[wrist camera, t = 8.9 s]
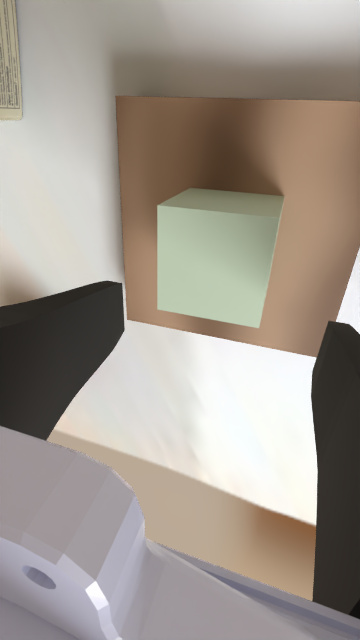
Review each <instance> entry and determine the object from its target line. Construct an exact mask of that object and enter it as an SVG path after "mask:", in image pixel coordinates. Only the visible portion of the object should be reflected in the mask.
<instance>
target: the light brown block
mask: <svg viewBox="0 0 360 640" xmlns="http://www.w3.org/2000/svg"><path fill="white" fill-rule="evenodd" d="M116 115H117V134H118V153H119V172H120V192H121V211H122V230H123V249H124V268H125V288H126V307H127V320H132V321H137V322H142V323H147V324H152V325H157V326H162V327H167V328H172V329H177V330H182V331H187V332H192V333H197V334H202V335H207V336H212V337H217V338H222V339H227V340H232V341H237V342H242V343H247V344H252V345H257V346H262V347H267V348H272V349H277V350H282V351H287V352H292V353H297V354H302V355H307V356H312V357H317V355H318V352H319V349H320V346H321V343H322V340H323V336H324V333H325V330H326V327H327V324H328V321H334V322H336V319H337V316H338V313H339V309H340V306H341V303H342V300H343V297H344V294H345V291H346V288H347V284H348V281H349V278H350V275H351V272H352V269H353V266H354V262H355V259H356V256H357V253H358V250H359V247H360V101H329V100H283V99H237V98H191V97H145V96H116ZM189 188H198V189H209V190H220V191H232V192H243V193H254V194H265V195H277V196H285V197H284V202H283V208H282V213H281V219H280V224H279V229H278V235H277V240H276V245H275V251H274V256H273V262H272V267H271V272H270V278H269V283H268V288H267V293H266V298H265V302H264V307H263V312H262V317H261V321H260V326H259V328H255V327H249V326H244V325H238V324H233V323H228V322H222V321H217V320H212V319H206V318H201V317H195V316H190V315H185V314H179V313H174V312H169V311H163V310H158V309H157V205H159V204H161V203H163V202H165V201H166V200H168V199H170V198H172V197H174V196H176V195H178V194H180V193H182V192H183V191H185V190H187V189H189Z"/></svg>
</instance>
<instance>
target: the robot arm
mask: <svg viewBox="0 0 360 640" xmlns="http://www.w3.org/2000/svg"><path fill="white" fill-rule="evenodd" d="M123 332H124V310H123V290H122V283H117V282H112V281H102V282H97V283H93V284H89V285H86V286H82V287H79V288H75V289H72V290H69V291H65V292H62V293H58V294H55V295H51V296H47V297H43V298H39V299H36V300H32V301H28V302H23V303H18V304H13V305H8V306H2V307H0V640H360V334H359V333H358V332H357V331H356V330H355V329H354V328H353V327H352V326H351V325H350V324H345V323H339V322H334V321H328V324H327V327H326V330H325V333H324V336H323V340H322V343H321V346H320V349H319V352H318V355H317V359H316V362H315V365H314V368H313V372H312V390H311V400H312V411H313V422H314V432H315V442H316V452H317V467H318V483H317V523H316V547H315V568H314V586H313V601H310V600H307V599H304V598H302V597H299V596H296V595H294V594H291V593H288V592H286V591H283V590H280V589H278V588H275V587H272V586H270V585H267V584H265V583H262V582H259V581H257V580H254V579H251V578H248V577H246V576H243V575H241V574H238V573H235V572H233V571H230V570H228V569H225V568H222V567H220V566H217V565H214V564H211V563H209V562H206V561H204V560H201V559H198V558H196V557H193V556H190V555H188V554H185V553H182V552H180V551H177V550H175V549H172V548H169V547H167V546H164V545H161V544H158V543H156V542H153V541H151V540H149V539H147V538H145V521H144V515H143V512H142V510H141V507H140V505H139V502H138V500H137V497H136V495H135V492H134V490H133V488H132V487H131V486H130V485H129V484H128V483H127V482H126V481H125V480H124V479H123V478H122V477H120V475H119V474H117V473H116V472H115V471H114V470H113V469H112V468H111V467H109V466H107V465H106V464H104V463H102V462H100V461H98V460H96V459H94V458H92V457H90V456H88V455H86V454H84V453H82V452H79V451H75V450H72V449H69V448H66V447H63V446H60V445H57V444H54V443H51V442H48V441H46V440H47V438H48V437H49V435H50V433H51V432H52V430H53V428H54V427H55V425H56V424H57V422H58V420H59V419H60V417H61V416H62V414H63V413H64V411H65V410H66V408H67V407H68V405H69V404H70V402H71V401H72V399H73V398H74V397H75V395H76V394H77V393H78V392H79V390H80V389H81V388H82V387H83V386H84V384H85V383H86V382H87V381H88V380H89V378H90V377H91V376H92V375H93V374H94V372H95V371H96V370H97V369H98V368H99V366H100V365H101V364H102V363H103V362H104V360H105V359H106V358H107V357H108V356H109V354H110V353H111V352H112V351H113V349H114V347H115V346H116V344H117V343H118V341H119V339H120V337H121V336H122V334H123Z"/></svg>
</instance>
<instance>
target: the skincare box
mask: <svg viewBox="0 0 360 640" xmlns="http://www.w3.org/2000/svg"><path fill="white" fill-rule="evenodd" d="M21 119H22V97H21V78H20V63H19V47H18V34H17V21H16V9H15V0H0V120H21Z"/></svg>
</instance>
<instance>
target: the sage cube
mask: <svg viewBox="0 0 360 640" xmlns="http://www.w3.org/2000/svg"><path fill="white" fill-rule="evenodd" d="M284 197H285V196H277V195H265V194H254V193H243V192H232V191H220V190H209V189H198V188H189V189H187V190H185V191H183V192H182V193H180V194H178V195H176V196H174V197H172V198H170V199H168V200H166V201H165V202H163V203H161V204H159V205H157V309H158V310H163V311H169V312H174V313H179V314H185V315H190V316H195V317H201V318H206V319H212V320H217V321H222V322H228V323H233V324H238V325H244V326H249V327H255V328H259V326H260V321H261V317H262V312H263V307H264V302H265V298H266V293H267V288H268V283H269V278H270V272H271V267H272V262H273V256H274V251H275V245H276V240H277V235H278V229H279V224H280V219H281V213H282V208H283V202H284Z"/></svg>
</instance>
